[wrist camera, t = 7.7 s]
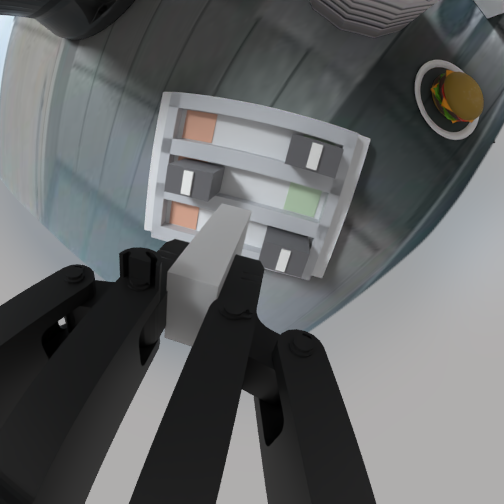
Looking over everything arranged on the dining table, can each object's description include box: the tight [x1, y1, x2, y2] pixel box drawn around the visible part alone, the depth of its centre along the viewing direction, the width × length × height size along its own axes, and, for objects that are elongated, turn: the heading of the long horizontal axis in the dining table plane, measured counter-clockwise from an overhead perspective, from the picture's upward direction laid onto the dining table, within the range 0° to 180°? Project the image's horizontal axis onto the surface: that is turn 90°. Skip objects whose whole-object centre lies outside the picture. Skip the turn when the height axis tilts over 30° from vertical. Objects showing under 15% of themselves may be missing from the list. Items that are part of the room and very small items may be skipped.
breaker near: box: [285, 133, 344, 179], centre depth 21 cm, size 4×2×4 cm, turn 77°
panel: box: [144, 92, 371, 280], centre depth 25 cm, size 20×15×3 cm
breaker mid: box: [164, 158, 225, 202], centre depth 23 cm, size 4×2×4 cm, turn 77°
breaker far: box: [259, 225, 310, 278], centre depth 25 cm, size 4×2×4 cm, turn 77°
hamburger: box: [415, 60, 495, 143], centre depth 17 cm, size 12×12×6 cm
